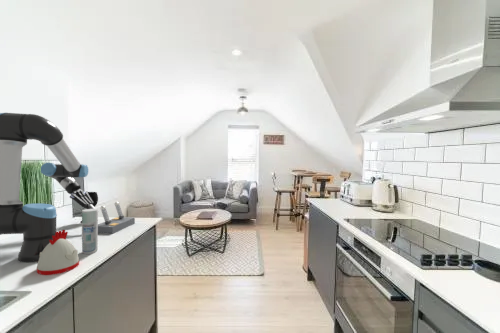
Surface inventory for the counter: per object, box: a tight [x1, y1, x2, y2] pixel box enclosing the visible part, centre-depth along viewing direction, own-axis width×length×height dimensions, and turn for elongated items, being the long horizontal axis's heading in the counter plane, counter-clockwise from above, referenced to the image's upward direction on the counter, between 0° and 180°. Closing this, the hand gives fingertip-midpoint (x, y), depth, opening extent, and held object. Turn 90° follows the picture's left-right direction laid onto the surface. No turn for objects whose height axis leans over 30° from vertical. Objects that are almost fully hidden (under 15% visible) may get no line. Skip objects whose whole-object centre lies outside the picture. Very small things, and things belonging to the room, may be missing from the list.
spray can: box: [81, 208, 99, 255], centre depth 123 cm, size 6×6×20 cm
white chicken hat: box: [36, 229, 80, 276], centre depth 106 cm, size 14×14×15 cm
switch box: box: [98, 216, 136, 235], centre depth 165 cm, size 24×12×4 cm, turn 175°
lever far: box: [114, 201, 125, 219], centre depth 172 cm, size 3×3×12 cm
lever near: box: [100, 205, 111, 225], centre depth 158 cm, size 3×3×12 cm
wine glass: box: [80, 191, 99, 224], centre depth 179 cm, size 10×10×20 cm
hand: (96, 213), depth 158 cm, fingers closed
